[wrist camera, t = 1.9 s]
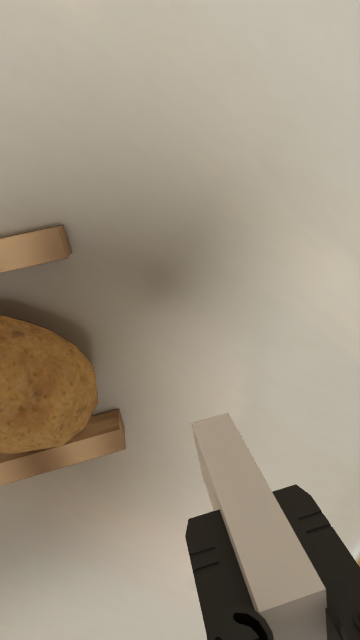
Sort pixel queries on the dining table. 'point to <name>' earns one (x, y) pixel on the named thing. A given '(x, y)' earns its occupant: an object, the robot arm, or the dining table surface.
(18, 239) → the channel
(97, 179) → the dining table surface
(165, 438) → the dining table surface
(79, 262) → the dining table surface
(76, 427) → the potato
